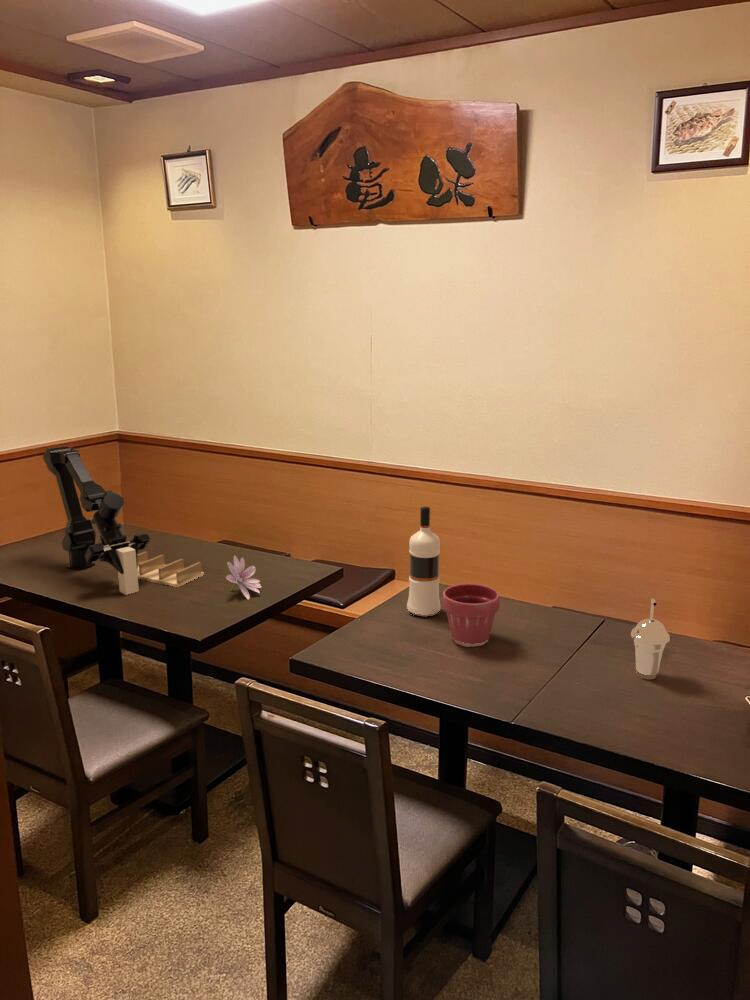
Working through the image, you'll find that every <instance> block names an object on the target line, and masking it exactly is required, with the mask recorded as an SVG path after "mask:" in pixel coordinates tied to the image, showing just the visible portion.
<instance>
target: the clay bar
mask: <svg viewBox="0 0 750 1000" xmlns="http://www.w3.org/2000/svg"><path fill="white" fill-rule="evenodd" d="M116 554H117V556H118V558H119V561H120V563H121V565H122V568H123V571H124V573H123V574H121V573H120V572H119V571H117V577H118V587H119V588H118V589H119V592H120V593H121V594H123V595H126V596H128V594H129V595H132V594H135V592H136V593H138V591H139V592H140V590H139V579H138V576H137V564H136V552H135V549H133V548H131V547H125V548H121V549H117V550H116ZM131 593H132V594H131Z"/></svg>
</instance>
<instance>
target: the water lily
mask: <svg viewBox="0 0 750 1000" xmlns="http://www.w3.org/2000/svg"><path fill="white" fill-rule="evenodd" d="M226 564H227V567H228V568H229V571H230V572H231V574H227V575H226V576H225V579H226V580H228V581H229V582H230V583H232V584H233V585H232V586H231V588H229V591H230V592H232V591H233V590H234V589H235V587H236V586H237V585H238V586H239V590H240V591H241V593H242V595H243V596H244V598H246V599H247V600H250V598H251V597H250V593H249V590H251V591H253V592H255V593H258V594H261V592H260V590H259V589H261V588H262V585H261V583H260V582H261V581H260V579H257V578H251V577H252V576H253V575H254V574H255V573H256V570H257V568H256V567H255V566H254V565H250V566H248V567H247V568H246V563H245V559H244V557H241V558H240V560H239V559H238V557H237V556H236V555H233V564H232V563H231V562H230V561H227V562H226ZM245 568H246V569H245Z"/></svg>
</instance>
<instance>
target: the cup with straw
mask: <svg viewBox="0 0 750 1000" xmlns="http://www.w3.org/2000/svg"><path fill="white" fill-rule="evenodd" d="M650 599H651V600H650V612H649V618H643V619H642V620H640V621H639V622H638V623H637V624H636V625H635V627H633V628H632V629H631V632H630V637H631V638H632V639H633V644H634V649H635V650H634V652H635V653H634V654H635V671H636V670H637V671H638V672H639V673H641V674H644V675H655V674H657V673H658V674H659V669H660V665H661V659H662V656H663V652H664V650H665V647H666V644H668V643H669V642H670V639H671V638H670V637H671V636H670V634H669V633H668V632H667V630H666V627H665V625H664V624H663V623H662V622H661V621H659V620H657V619H655V618H654V612H655V611H654V609H655V606H656V607H657V605H658V604H657V602H656V600H655V598H653V597H652V598H650ZM637 671H636V672H637ZM658 674H657V675H658Z"/></svg>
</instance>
